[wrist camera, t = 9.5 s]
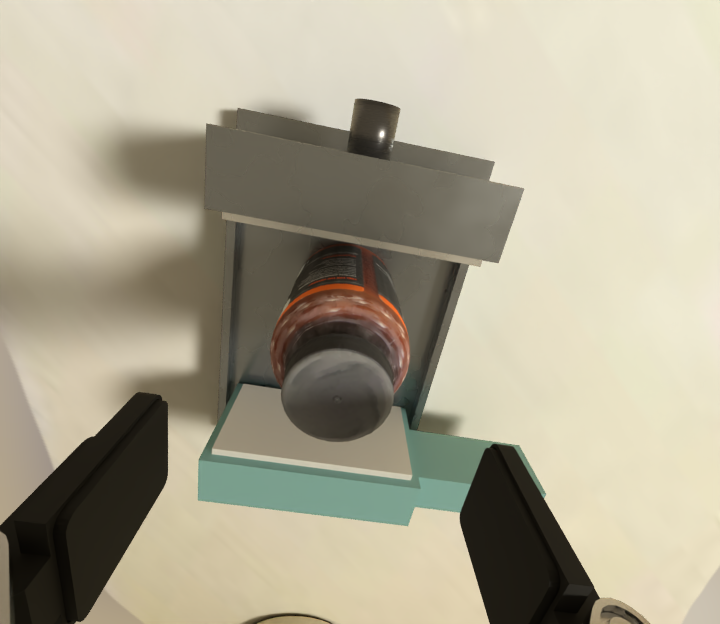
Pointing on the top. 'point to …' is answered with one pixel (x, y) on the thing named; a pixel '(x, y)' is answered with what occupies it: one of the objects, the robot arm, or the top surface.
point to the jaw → (334, 465)
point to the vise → (346, 228)
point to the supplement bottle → (340, 345)
